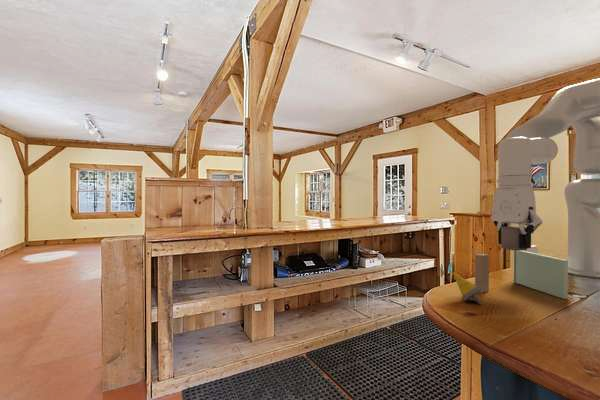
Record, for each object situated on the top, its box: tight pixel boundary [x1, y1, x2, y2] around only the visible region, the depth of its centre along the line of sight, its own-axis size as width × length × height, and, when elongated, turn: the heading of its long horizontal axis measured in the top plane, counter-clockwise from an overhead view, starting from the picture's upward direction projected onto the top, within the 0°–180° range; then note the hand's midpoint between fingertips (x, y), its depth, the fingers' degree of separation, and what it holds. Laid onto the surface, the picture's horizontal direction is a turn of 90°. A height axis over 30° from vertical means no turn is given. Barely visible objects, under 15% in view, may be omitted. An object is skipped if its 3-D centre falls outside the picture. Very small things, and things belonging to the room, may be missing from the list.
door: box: [513, 250, 569, 300], centre depth 85 cm, size 15×1×10 cm, turn 10°
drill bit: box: [452, 271, 483, 305], centre depth 78 cm, size 5×5×10 cm
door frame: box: [474, 244, 539, 294], centre depth 90 cm, size 28×2×10 cm, turn 115°
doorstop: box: [500, 225, 527, 251], centre depth 85 cm, size 6×6×6 cm
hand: (514, 245), depth 85 cm, fingers closed on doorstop, 6 cm apart
